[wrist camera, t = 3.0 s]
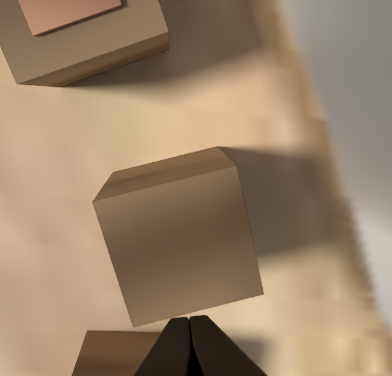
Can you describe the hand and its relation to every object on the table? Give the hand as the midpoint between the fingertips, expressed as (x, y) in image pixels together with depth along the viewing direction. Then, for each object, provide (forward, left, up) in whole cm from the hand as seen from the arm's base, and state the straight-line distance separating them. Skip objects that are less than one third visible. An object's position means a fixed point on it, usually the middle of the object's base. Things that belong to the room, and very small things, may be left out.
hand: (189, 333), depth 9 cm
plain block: (0, 0, -10) cm, 10 cm away
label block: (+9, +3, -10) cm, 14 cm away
